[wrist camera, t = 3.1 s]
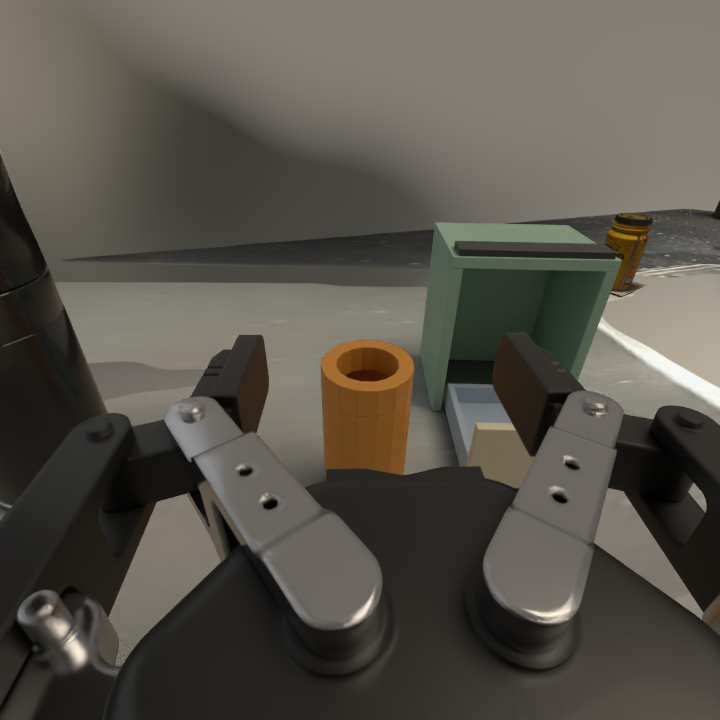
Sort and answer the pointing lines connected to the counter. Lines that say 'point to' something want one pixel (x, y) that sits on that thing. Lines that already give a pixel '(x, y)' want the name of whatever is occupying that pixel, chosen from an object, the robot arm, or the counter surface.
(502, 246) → the green open box
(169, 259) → the counter surface
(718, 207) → the beer bottle
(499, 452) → the beige drawer
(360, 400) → the jar
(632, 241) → the condiment
